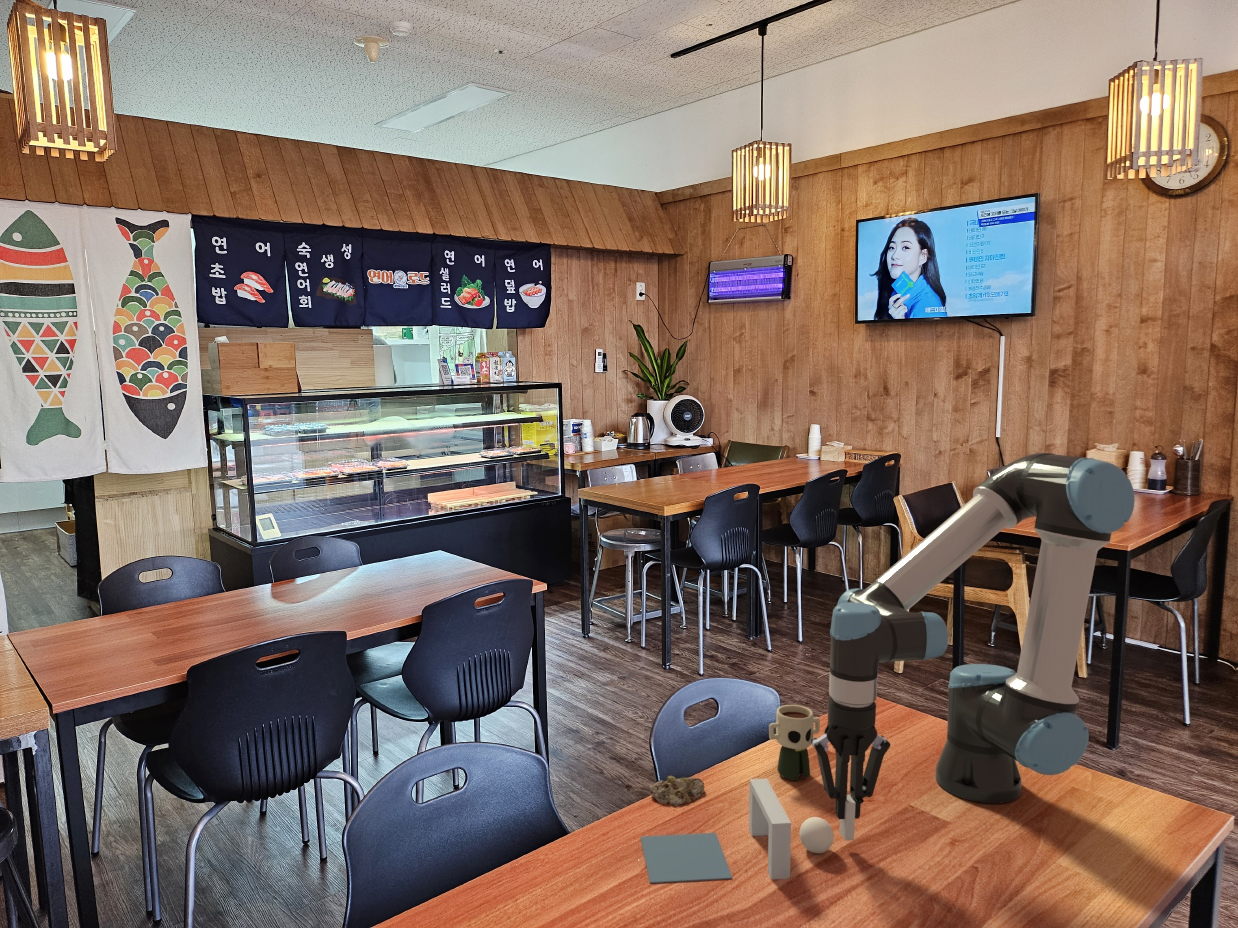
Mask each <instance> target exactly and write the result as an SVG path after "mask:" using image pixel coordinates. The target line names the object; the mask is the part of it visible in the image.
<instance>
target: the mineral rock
mask: <svg viewBox="0 0 1238 928" xmlns="http://www.w3.org/2000/svg"><path fill="white" fill-rule="evenodd" d="M648 788H649V789H650V794H651V797H652V798H653V799H655V800H656V801H657V802H658V804H664V805H670V806H673V807H675V806H680V805H683V804H688V803H690V802H691V803H692V801H694V800H697V799H699V798H700V797H702V794H704V793H705V783H704V782H703V780H702V779H701V778H698V777H691V778H690V777H680V778H676V777H675V776H673V775H668V776H667V778H666V781H665V780H658V781H657V782H654V784H652V785H649V787H648Z"/></svg>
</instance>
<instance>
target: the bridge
mask: <svg viewBox="0 0 1238 928" xmlns="http://www.w3.org/2000/svg"><path fill="white" fill-rule="evenodd" d="M748 802H749V803H748V804H749V806H748V809H749V811H748V812H749V814H748V831H749V833H750V836H751V837H758V836H768V844H767V873H768V876H769V878H770V880H788V879H791V851H792V850H791V849H792V848H791V847H792V845H791V844H792V822H791V820H790V818H789V816H788V815H787V813H786V811H785V809H784V807H783V805H782V803H781V801H780V799H779V798H778V796H777V794H776V792H775V790H774V789H773V787H772V784H770V781H769V780H768V778H750V779H749V801H748Z"/></svg>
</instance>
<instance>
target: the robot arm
mask: <svg viewBox="0 0 1238 928" xmlns="http://www.w3.org/2000/svg"><path fill="white" fill-rule="evenodd" d="M1134 508H1135V491H1134V487H1133V483H1132V481H1131V479H1129V478H1128V477H1127V474H1126V472H1125V471H1124V470H1123V469H1121V468H1120V467H1119V466H1117V465H1116V464H1114V463H1111V462H1108V461H1104V460H1101V459H1100V460H1099V459H1096V458H1094V457H1080V456H1074V455H1073V456H1070V455H1063V454H1056V453H1050V452H1038V453H1037V452H1036V453H1032V454H1028V455H1025V456H1022V457H1020V458H1018V459H1015V460H1013V461H1011V462H1010V463H1008V464H1006V465H1004V466H1002V467H1001V468H1000V469H998V470H997V471H995V472H994V473H992V474H991V475H990V476H988V477H987V478H986V479H985V480H983V481H982V482H980V483H979V485H977V486H976V487H975V488H974V489H973V491H972V498H971V499H970V500H969V501H967V502H966V503H965V504H964V505H963V506H961V507H960V508H959V509H958V510H957V511H955V512H954V513H953V514H952V515H951V516H949V518H947V519H946V520H945V521H944V522H942V523H941V524H940V525H939V526H938V527H937V528H936V529H934V530H933V531H932V532H931V533H929V534H928V535H927V536H926V537H925V538H923V540H921V541H920V542H919V543H918V544H917V545H916V546H915V547H913V548H912V549H911V550H910V551H908V552H907V553H906V554H905V555H904V556H903V557H902V558H900V559H899V560H898V561H897V562H896V563H894V564H893V565H892V566H890V568H889V569H887V570H886V571H885V572H884V573H882V575H880V576H879V577H878V578H877V579H876V580H875V581H873V582H872V583H870V585H869V586H867V587H866V588H865V589H864V588H857V587H855V588H851V589H848V590H846V591H845V592H843V594H841V596H840V597H839V598H838V602H837V604H836V606H835V607H834V608H833V609H832V617H831V625H830V630H829V634H830V651H829V652H830V654H829V655H830V656H829V676H828V677H829V680H828V681H829V683H828V694H829V698H828V702H827V703H828V704H827V725H826V727H825V728H824V733H823V734H822V735H821V736H820V737H818V738H817V737H813V738H812V739H811V745H812V747H813V748H814V749H815V751H816V756H817V761H818V764H819V765H818V766H819V771H820V774H821V775H820V776H821V780H822V785H823V789H824V791H825V793H826V794H827V795H828V797H829V798H830V799H831V800H834V799H835V800H834V802H835V803H834V813H835V816H836V817H837V819H838V820H839V829H838V830H839V831H838V832H839V833H840V835H841V836H842V838H843V839H844V841H846V842H848V841H854V840H855V826H856V825H855V823H856V822H855V821H856V820H857V819H860V816H861V806H862V804H863V803H864V801H865V800H864V798H871V797H872V796H873V795H874V791H875V789H876V786H877V785H876V784H877V783H878V782H877V781H878V778H879V774H880V771H881V767H882V764H883V760H884V756H885V755H886V753H887V752H888V750H890V747H891V743H890V741H889V740H888V739H887V738H886V737H885V736H884V735H880V734H878V730H877V729H876V726H875V725H876V719H877V718H876V715H877V713H876V712H877V703H876V702H875V701H876V700H877V696H878V691H877V690H878V674H879V673H878V669H879V663H890V662H892V663H893V662H907V661H919V660H920V661H925V660H927V659H928V660H929V659H934V658H935V659H936V658H939V657H941V656H943V655H944V654H945V652H946V651H947V648H948V646H949V631H948V628H947V624H946V622H945V621H944V619H943V618H942V617H941V616H940V615H939V614H938V613H935V612H932V611H931V612H929V611H928V612H926V611H919V612H911V611H909V610H910V609H911V608H912V607H913V606H915V604H917V603H918V602H919V601H920V600H921V599H923V598H924V597H925V596H926V595H927V594H928V593H930V592H931V591H932V590H933V589H934V588H935V587H937V586H938V585H939V584H940V583H941V582H943V581H944V580H945V579H946V578H947V577H948V576H949V575H951V574H952V573H953V572H954V571H955V570H957V569H958V568H959V567H960V566H961V565H962V564H963V563H965V562H966V561H967V560H968V559H969V558H971V557H972V556H973V555H974V554H975V553H976V552H978V551H979V550H980V549H981V548H982V547H984V545H986V544H987V543H989V541H990V540H992V539H993V538H994V537H995V536H996V535H998V534H999V533H1000V532H1001V531H1002V530H1003V529H1008V530H1009V529H1013V528H1015V527H1016V526H1017V525H1018V524H1019V523H1021V522H1022V521H1024V520H1026V519H1029V518H1034V517H1035V523H1034V526H1033V530H1034V531H1035V532H1036V533H1037V535H1038V537H1039V538H1040V540H1041V542H1040V548H1039V554H1038V559H1037V565H1036V569H1035V576H1034V581H1033V585H1032V586H1033V587H1032V592H1031V596H1030V602H1029V608H1028V613H1027V617H1026V622H1025V627H1024V634H1023V639H1022V644H1021V649H1020V655H1019V659H1018V666H1017V672H1016V671H1015V670H1014V669H1011V668H1008V667H1006V666H1002V665H996V664H995V665H994V664H987V663H985V664H984V663H973V664H972V663H971V664H970V663H969V664H963V665H958V666H956V667H955V668H953V669H952V671H951V672H950V674H949V681H948V682H949V683H948V686H947V688H948V696H947V697H948V698H947V700H948V701H947V727H946V728H947V729H946V731H947V732H946V741H945V744H944V746H943V748H942V751H941V753H940V756H939V759H938V760H937V762H936V766H935V781H936V783H937V784H938V786H940V787H941V788H942V789H943V790H945V791H946V792H948V793H949V794H952V795H954V796H955V797H959V798H961V799H964V800H967V801H972V802H974V803H975V802H976V803H981V804H992V805H993V804H995V805H996V804H1006V803H1010V802H1013V801H1015V800H1017V799H1018V798H1019V797H1020V796H1021V794H1022V777H1021V774H1020V771H1019V767H1018V764H1019V765H1021V766H1022V767H1024V768H1027V769H1031V770H1032V771H1034V772H1036V773H1038V774H1041V775H1044V776H1055V775H1056V776H1057V775H1061V774H1062V773H1065V772H1068V771H1069V770H1070V769H1071V768H1072V767H1073V766H1076V765H1077V763H1078V762H1079V761H1080V760H1081V759H1082V758H1083V756H1084V754H1085V753H1086V750H1087V747H1088V745H1089V738H1090V737H1089V735H1090V734H1089V728H1087V726H1086V723H1085V721H1083V719H1082V718H1081V717H1080V716H1079V715H1078V714H1077V713H1078V709H1079V708H1078V707H1079V703H1080V697H1079V696H1078V695H1077V693H1076V692H1075V690H1074V688H1073V687H1072V686H1073V681H1074V675H1075V671H1076V664H1077V660H1078V654H1079V649H1080V645H1081V640H1082V639H1081V638H1082V634H1083V629H1084V623H1085V617H1086V612H1087V608H1088V607H1087V606H1088V602H1089V596H1090V592H1091V586H1092V581H1093V576H1094V571H1095V565H1096V561H1097V560H1096V559H1097V554H1098V551H1099V550H1101V549H1102V548H1103V547H1105V546H1107V545H1109V544H1110V542H1111V537H1112V533H1115V532H1117V531H1120V530H1121V529H1122V528H1123V527H1124V526H1125V523H1128V522H1129V521H1130V519H1131V517H1132V515H1133V511H1134ZM828 744H831V746H832V748H833V749H834V753H835V770H834V771H835V777H833V773H832V768H831V763H830V757H829V754H828V752H827V751H828V750H829V745H828ZM871 745H872V746H871ZM870 746H871V748H870ZM869 748H870V752H869V755H868V758H867V762H866V765H865V769H864V763H865V761H866V752H867V751H868V749H869ZM849 763H850V771H849ZM849 772H850V773H849ZM849 774H850V776H849ZM849 777H850V778H849ZM848 779H849V794H848Z"/></svg>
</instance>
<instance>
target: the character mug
mask: <svg viewBox="0 0 1238 928" xmlns="http://www.w3.org/2000/svg"><path fill="white" fill-rule="evenodd" d="M820 723H821V720H820V717H818V716H817V717H814V712H813V711H812V709H810V708H809V707H806V706H803V705H797V704H786V705H781V706H779V707H778V708H777V709H776V719H775V722H771V723H769V725H768V737H769V740H773V741H774V740H776V742H777V743H778V744H779V745H781V747H780V749H779V750H780V751H779V754H778V761H777V767H776V770H777V772H778V773H779V775H780V776H781V777H783V778H785V779H788V780H790V781H791V780H792V781H800V776H801V775H802V778H803V780H806V779H807V778H809V777H810V776H811V775H810V774H811V768H810V757H809V751H808V748H809V747H810V746H811V745H812V744H811V739H812V738H814V735H815V734H818V733H820V725H821V724H820Z"/></svg>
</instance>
